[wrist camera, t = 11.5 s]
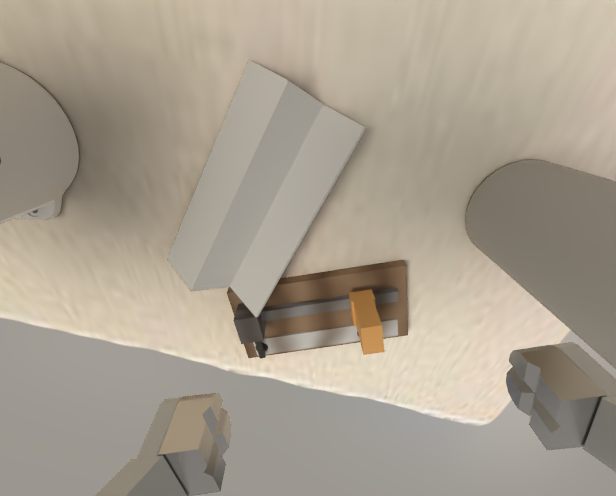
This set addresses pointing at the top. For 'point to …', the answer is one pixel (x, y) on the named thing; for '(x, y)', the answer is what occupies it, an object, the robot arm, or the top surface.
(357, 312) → the sliding jaw
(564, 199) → the cylinder vase
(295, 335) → the gauge board
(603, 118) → the top surface
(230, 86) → the top surface
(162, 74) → the top surface
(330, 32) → the top surface
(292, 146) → the z bracket
